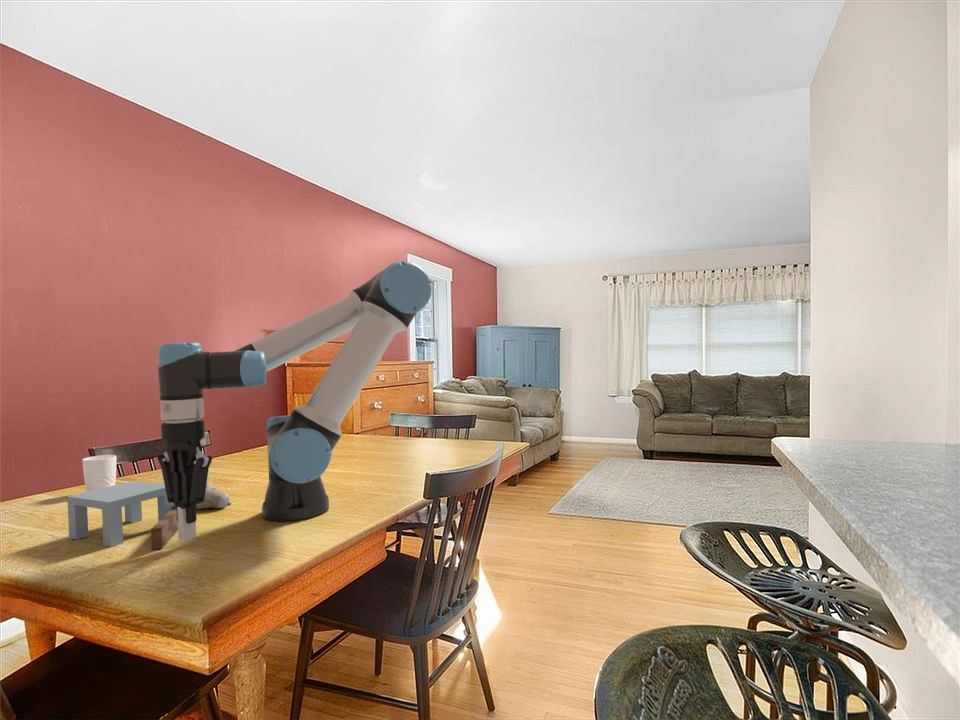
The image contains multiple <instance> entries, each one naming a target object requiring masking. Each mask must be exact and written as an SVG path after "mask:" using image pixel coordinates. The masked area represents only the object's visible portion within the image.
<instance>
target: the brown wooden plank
mask: <svg viewBox="0 0 960 720" xmlns="http://www.w3.org/2000/svg"><path fill="white" fill-rule="evenodd" d="M175 532H178V521H177V511H176V507H175V505H174V506H172V509H171V510H170V511H169V512H168V513H167V514H166V515H165V516H164V517H163V518H162V519H161V520H160V521H159V522H158V521H157V523H155V524H154V526H152V528H151V529H150V535H151V536H150V537H151V538H150V539H151V550H156V549H157V550H158V549H163V548H164V547H165V546H166V545H167V543H168V542H169V541H170V540H171V538H172V537H173V536H174V535H175V534H176V533H175ZM174 533H175V534H174ZM169 539H170V540H169ZM168 540H169V541H168ZM167 541H168V542H167Z"/></svg>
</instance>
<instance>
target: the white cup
mask: <svg viewBox="0 0 960 720" xmlns="http://www.w3.org/2000/svg"><path fill="white" fill-rule="evenodd" d="M82 471H83V477H84V478H83V479H84V485H85V492H88V491H92V490H97V489H101V488H105V487H109V486H114V485H116V480H117V455H115V454H103V455H94V456H93V455H92V456H87V457H85V458H82Z"/></svg>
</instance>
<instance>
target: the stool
mask: <svg viewBox="0 0 960 720" xmlns="http://www.w3.org/2000/svg"><path fill="white" fill-rule="evenodd" d="M173 496H174V495H173ZM156 498H157V516H158V517H157V523H158V522H159V521H160V520H161V519H162V518H163V517H164V516H165V515H166V514H167V513H168V512H169V511H170V510H171V509H172V506H174V503H173V502H171V503H169V502H168V499H167V494H166V489H165V484H164V483H157V482H148V481H140V480H131V481H127V482H126V481H125V482H123V483H118V484H115V485H114V486H109V487H105V488H101V489H97V490H92V491H88V492H86V491H84V492H81V493H77V494H73V495H72V494H71V495H68V496H67V498H66V499H67V502H66V503H67V517H68V518H67V520H68V539H69V540H72V539H75V540H74V541H78V540H81V539H80V538H82V539H84V538H83V537H85V538H87V536H88V537H89V521H88V520H89V519H88V508H91V509H97V510H98V509H99V510H101V516H102V517H101V518H102V519H101V520H102V541H103V542H102V543H103V546H104V547H108V546H110V547H109V548H113V547H115V546H114V545H116V546H118V545H117V544H119V545H121V544H120V543H122V544H124V531H123V530H124V529H123V527H124V526H123V508H124V522H125V521H127V522H126V523H128V522H134V523H136V522H135V521H137V522H139V521H138V520H140V521H142V520H143V512H142V511H143V510H142V508H143V507H142V506H143V505H142V502H145V501H148V500H152V499H156ZM141 519H142V520H141ZM77 539H78V540H77ZM112 546H113V547H112Z"/></svg>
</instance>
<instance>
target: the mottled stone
mask: <svg viewBox="0 0 960 720" xmlns="http://www.w3.org/2000/svg"><path fill="white" fill-rule="evenodd" d="M228 504H230V505H232V501H230V495H229V494H228V493H226V492H224V491H221V490H219V489H218V488H217V487H216V486H214V485H213V484H212V483H210V481H209V482H208V481H207V484H206V492H205V499H204V502H202V503H199V504H197V505H196V510H203V509H202V508H204V509H211V508H214V509H218V508H222V509H224V508H226V507H227V506H228Z"/></svg>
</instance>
